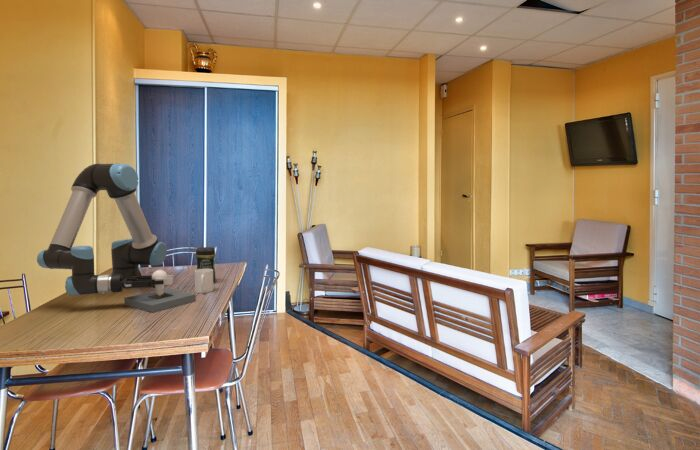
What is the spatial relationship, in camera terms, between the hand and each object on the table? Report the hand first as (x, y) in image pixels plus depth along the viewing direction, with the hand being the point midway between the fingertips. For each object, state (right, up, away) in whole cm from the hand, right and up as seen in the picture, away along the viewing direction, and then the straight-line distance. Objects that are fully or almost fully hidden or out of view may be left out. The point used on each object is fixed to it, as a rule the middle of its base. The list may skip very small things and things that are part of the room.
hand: (172, 279), depth 174 cm
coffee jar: (+1, -7, +37) cm, 37 cm away
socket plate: (-5, -10, -1) cm, 11 cm away
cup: (+7, -9, +18) cm, 21 cm away
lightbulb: (-5, -7, -1) cm, 9 cm away
